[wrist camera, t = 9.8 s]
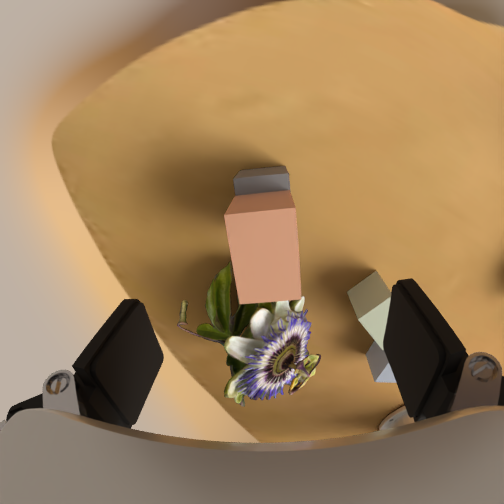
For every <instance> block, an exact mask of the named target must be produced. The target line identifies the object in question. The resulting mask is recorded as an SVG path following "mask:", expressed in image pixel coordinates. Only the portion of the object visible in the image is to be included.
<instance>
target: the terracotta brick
mask: <svg viewBox="0 0 504 504" xmlns="http://www.w3.org/2000/svg"><path fill="white" fill-rule="evenodd" d="M224 218H225V224H226V230H227V236H228V242H229V248H230V253H231V259H232V265H233V270H234V276H235V281H236V287H237V292H238V298H239V303H240V304H250V303H264V302H277V301H288V300H299V299H301V279H300V262H299V246H298V232H297V219H296V208H295V205H294V202H293V199H292V196H291V193H290V190H285V191H274V192H265V193H255V194H246V195H238V196H235V197H234V198H233V200H232V202H231V204H230V205H229V207H228V209H227V211H226V212H225V214H224Z"/></svg>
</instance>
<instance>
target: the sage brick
mask: <svg viewBox="0 0 504 504" xmlns="http://www.w3.org/2000/svg"><path fill="white" fill-rule="evenodd" d="M347 294H348V296H349V299H350V301H351V304H352V306H353V308H354V311H355V313H356V316H357V318H358V320H359V321H360V323H361V324H362V325H363V326H364V328H365V329H366V330H367V331H368V333H369V334H370V335H371V336H372V337H373V339H374V340H375V341H376V342H377V344H378V345H379V346H380V348H381V349H382V350H384V349H383V339H384V334H385V329H386V324H387V318H388V312H389V306H390V299H391V292H390V290H389V289H388V287H387V286H386V284H385V283H384V281H383V280H382V278H381V277H380V275H379V274H378V272H377V271H375V272H373V273H372V274H371V275H369V276H368V277H367V278H365V279H364V280H362V281H361V282H360V283H358V284H357V285H356V286H354V287H353V288H351V289H350V290H349V291H347Z"/></svg>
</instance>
